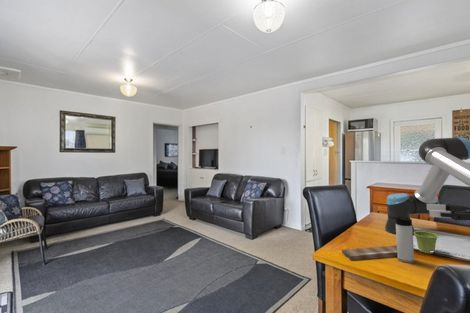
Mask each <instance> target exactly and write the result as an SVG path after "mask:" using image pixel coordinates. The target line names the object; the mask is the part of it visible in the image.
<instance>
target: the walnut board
mask: <svg viewBox="0 0 470 313" xmlns="http://www.w3.org/2000/svg"><path fill="white" fill-rule="evenodd" d="M342 253H343V254H344V255H345V257H346V258H347V259H348V258H349V259H348V260H350V261H359V260H360V261H361V260H362V261H363V260H371V259H386V258H394V257H395V258H398V255H397V244H396V245H386V246H385V245H383V246H373V247H371V246H370V247H360V248H345V249H341V254H342ZM343 254H342V255H343ZM344 255H343V256H344Z"/></svg>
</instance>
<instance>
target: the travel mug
mask: <svg viewBox="0 0 470 313" xmlns="http://www.w3.org/2000/svg"><path fill="white" fill-rule="evenodd" d="M395 219H396V234H395V235H396V236H395V238H396V245H397V255H398V257H397V260H398V261H399V262H402V263H406V264H407V263H408V264H412V263H415V250H414V248H415V247H414V234H413V229H412V225H413V221H412V218H410V219H408V218H404V217H395Z"/></svg>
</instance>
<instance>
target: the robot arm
mask: <svg viewBox="0 0 470 313" xmlns="http://www.w3.org/2000/svg"><path fill="white" fill-rule="evenodd" d="M418 156H419V157H420V159H421V160H422V161H423V162H425V163H426V164H428V165H430V168H429V170H428V172H427V174H426V176H425V177H424V180H423V181H422V184H421V185H420V188H419V189H416V190H415V191H414V193H412V195H410V194H408V193H406V192H405V193H404V192H402V193H401V192H400V193H399V192H397V193H391V194H389V195H387V196H386V210H387V220H386V222H385V226H384V229H385V231H386V232H387V233H390V234H394V235H396V219H395V217H404V218H408V219H411V215H429V217H430V218H441V219H452V220H454V221H470V206H467V205H458V204H451V203H450V204H449V203H446V204H440V201H439V198H438V194H439V193H440V192H441V190H442V188H443V186H444V185H445V182H447V179H448V178H449V177H450V176H452V177H454V178H455V179H457V180H458V181H459V182H462V183H464V185H466V186H468V187H470V163H468V162H466V160H469V159H470V140H469V139H468V138H466V137H457V136H455V137H445V138H444V137H441V138H439V137H438V138H430V139H427V140H426V141H423V142H422V143H421V145H420V146H419V148H418ZM412 229H413V233H414V232H415V228H414V225H413V224H412Z"/></svg>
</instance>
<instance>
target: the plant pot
mask: <svg viewBox="0 0 470 313" xmlns="http://www.w3.org/2000/svg"><path fill="white" fill-rule="evenodd" d="M413 235H414V236H415V239H416V242H417V248H419V249H421V250H419V249H418V251H419V252H422V253H425V254H433V253H430V251H436V244H437V240H438V238H439V235H438V234H436V233H434V232H429V231H424V230H422V231H421V230H415V231H414V234H413Z"/></svg>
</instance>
